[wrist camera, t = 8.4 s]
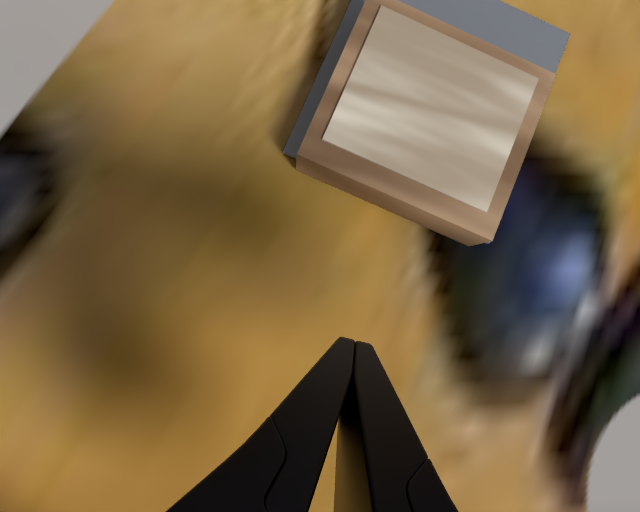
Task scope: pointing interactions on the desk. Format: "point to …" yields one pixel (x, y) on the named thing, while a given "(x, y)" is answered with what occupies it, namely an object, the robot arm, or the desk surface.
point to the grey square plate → (463, 13)
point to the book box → (425, 121)
